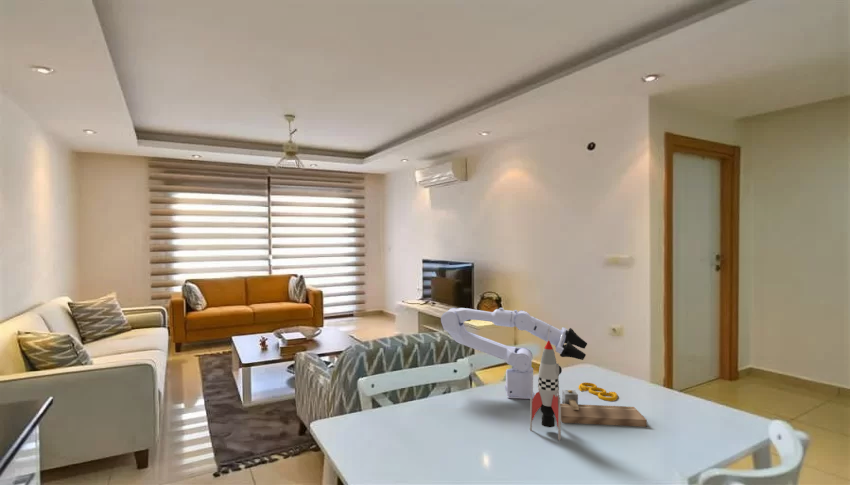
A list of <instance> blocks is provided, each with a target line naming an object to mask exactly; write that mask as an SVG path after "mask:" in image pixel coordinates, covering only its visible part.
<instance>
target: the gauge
mask: <svg viewBox="0 0 850 485" xmlns="http://www.w3.org/2000/svg"><path fill="white" fill-rule="evenodd" d="M561 391H562V392H561V393H562V396H561V397H562V398H561V402H562V403H561V404H570V405H571V407H572V408H573V410H579V406H578V405H577V404H579V394H578V392H577V391H576V390H574V389H573V390H572V389H562V390H561Z"/></svg>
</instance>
